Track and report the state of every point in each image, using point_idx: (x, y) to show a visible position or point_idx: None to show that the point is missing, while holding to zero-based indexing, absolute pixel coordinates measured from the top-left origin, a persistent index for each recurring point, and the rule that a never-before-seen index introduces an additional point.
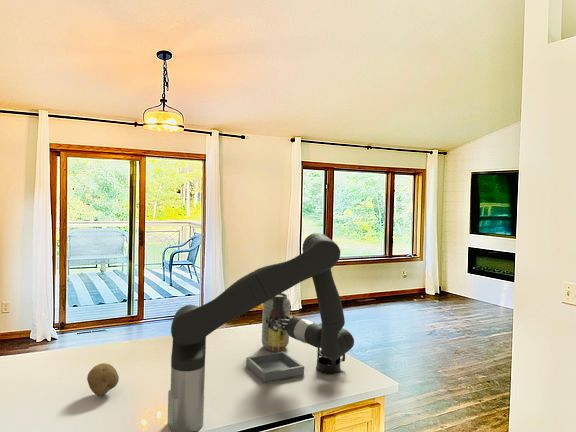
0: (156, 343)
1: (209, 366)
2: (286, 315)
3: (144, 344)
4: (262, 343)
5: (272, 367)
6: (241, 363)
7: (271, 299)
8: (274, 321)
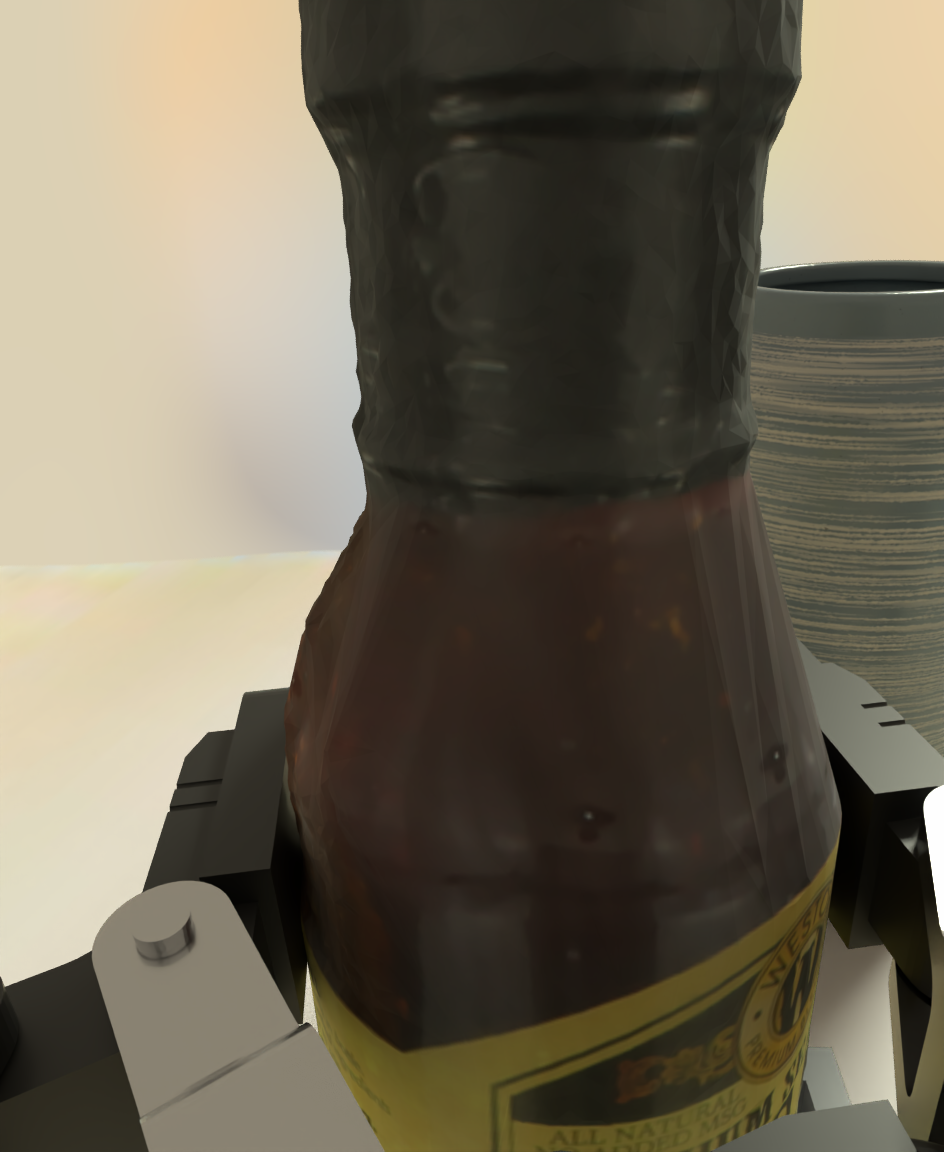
0: (80, 602)
1: (19, 967)
2: (881, 735)
3: (23, 599)
4: None
5: None
6: (311, 1020)
7: (763, 327)
8: (332, 945)
